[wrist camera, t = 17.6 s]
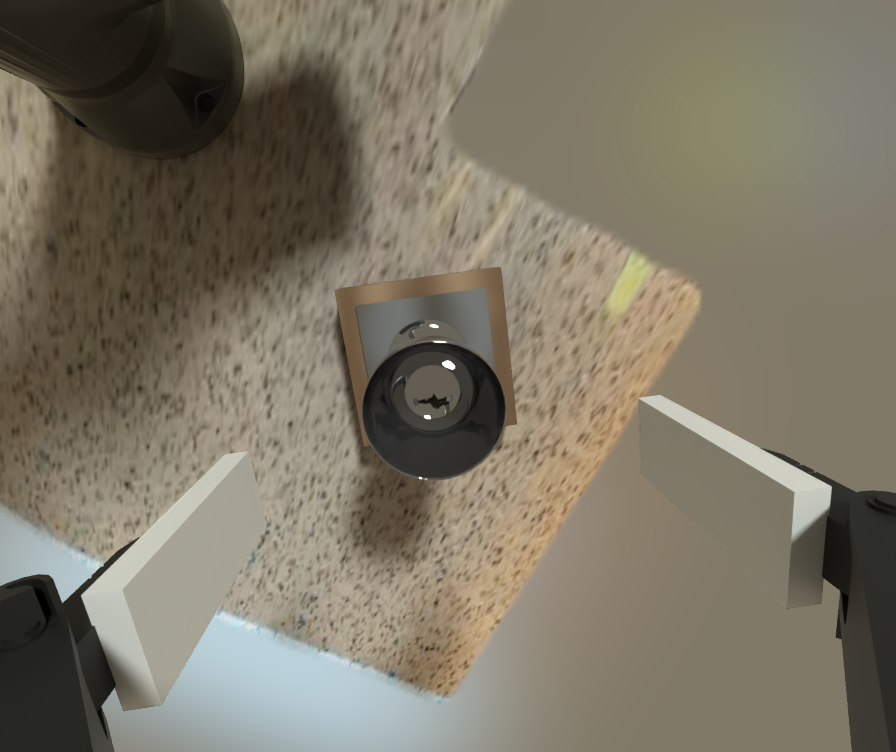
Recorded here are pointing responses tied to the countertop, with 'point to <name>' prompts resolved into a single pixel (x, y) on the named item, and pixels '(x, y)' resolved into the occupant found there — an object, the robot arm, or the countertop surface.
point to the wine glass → (433, 404)
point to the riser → (434, 297)
